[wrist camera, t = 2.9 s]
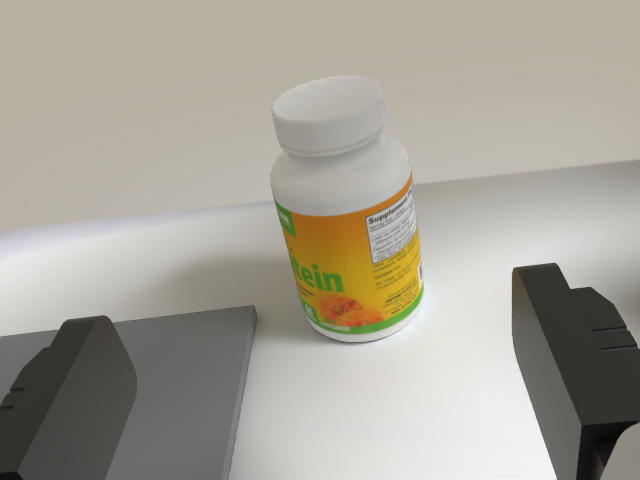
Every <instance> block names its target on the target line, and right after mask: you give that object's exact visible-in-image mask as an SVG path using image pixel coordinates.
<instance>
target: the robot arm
mask: <svg viewBox="0 0 640 480" xmlns="http://www.w3.org/2000/svg"><path fill="white" fill-rule="evenodd" d="M512 336H513V344H514V349H515V354H516V358H517V362H518V365H519V368H520V371H521V373H522V376H523V379H524V382H525V385H526V388H527V391H528V394H529V397H530V400H531V403H532V406H533V409H534V412H535V415H536V418H537V421H538V424H539V427H540V430H541V433H542V436H543V439H544V442H545V444H546V447H547V450H548V453H549V456H550V459H551V462H552V465H553V468H554V471H555V474H556V477H557V480H640V349H638V347H637V343H636V341H635V340H634V338H633V336H632V335H631V333H630V331H627V326H626V324H625V323H624V321H623V319H622V318H621V316H620V314H619V313H618V311H617V309H616V307H615V306H614V304H613V303H611V302H610V301H609V300H607V299H606V298H605V297H603V296H602V295H601V294H599V293H598V292H597V291H595V290H594V289H593V288H591V287H585V288H576V289H570V287H569V286H568V284H567V282H566V280H565V278H564V276H563V274H562V272H561V270H560V268H559V266H558V265H557V264H556V263H549V264H541V265H532V266H524V267H515V268H514V269H513V272H512ZM136 394H137V375H136V371H135V368H134V365H133V363H132V361H131V359H130V357H129V355H128V353H127V351H126V349H125V347H124V345H123V343H122V341H121V339H120V337H119V335H118V333H117V331H116V329H115V327H114V325H113V323H112V321H111V320H110V319H109V318H108V317H107V316H103V315H102V316H94V317H86V318H77V319H70V320H67V321H65V322H64V323H63V324H62V326H61V328H60V329H59V331H58V333H57V334H56V336H55V338H54V339H53V341H52V343H51V345H50V346H49V347H44V348H43V349H42V350H41V351H40V352H39V353H38V354H37V355H36V356H35V357H34V358H32V359H31V360H30V361H29V362H28V363H27V364H26V365H25V366H24V367H23V368H22V370H21V372H20V373H19V375H18V376H17V378H16V380H15V381H14V383H13V385H12V386H11V388H10V393H8V394H6V396H5V398H4V399H3V401H2V403H1V404H0V480H105V478H106V475H107V473H108V470H109V467H110V465H111V462H112V459H113V457H114V454H115V452H116V449H117V446H118V444H119V441H120V438H121V436H122V433H123V430H124V428H125V425H126V422H127V420H128V417H129V414H130V412H131V409H132V406H133V404H134V401H135V398H136Z"/></svg>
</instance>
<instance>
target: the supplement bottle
mask: <svg viewBox="0 0 640 480" xmlns="http://www.w3.org/2000/svg"><path fill="white" fill-rule="evenodd" d="M272 116H273V121H274V126H275V130H276V135H277V138H278V140H279V144H280V146H281V148H282V149H284V151H283V152H282V153H281V154H280V155H279V157H278V158H277V159H276V161H275V163H274V165H273V168H272V171H271V187H272V192H273V196H274V200H275V204H276V208H277V211H278V215H279V219H280V222H281V226H282V229H283V233H284V237H285V241H286V245H287V249H288V252H289V256H290V260H291V264H292V268H293V272H294V276H295V279H296V283H297V287H298V291H299V295H300V299H301V303H302V307H303V310H304V313H305V315H306V318H307V319H308V321H309V323H310V324H311V325H312V326H313V327H314V328H315V329H316V330H317V331H318V332H320V333H322V334H323V335H325V336H327V337H330V338H333V339H336V340H340V341H346V342H366V341H373V340H378V339H381V338H385V337H387V336H390V335H392V334H394V333H396V332H398V331H399V330H401V329H402V328H404V327H405V326H406V325H407V324H409V323H410V322H411V321H412V320H413V319H414V317H415V316H416V315H417V313H418V312H419V310H420V308H421V305H422V302H423V297H424V287H423V274H422V265H421V256H420V247H419V238H418V229H417V219H416V212H415V203H414V193H413V183H412V174H411V167H410V161H409V156H408V153H407V150H406V148H405V147H404V145H403V144H402V143H401V142H400V141H399V140H398V139H397V138H396V137H395V136H393V135H392V134H390V133H388V132H386V131H384V130H383V129H384V128H385V119H386V113H385V109H384V102H383V96H382V90H381V87H380V85H379V84H378V83H377V82H376V81H374V80H372V79H370V78H366V77H362V76H352V75H348V76H347V75H346V76H334V77H326V78H322V79H317V80H313V81H310V82H307V83H304V84H301V85H298V86H296V87H294V88H291V89H289V90H288V91H286V92H284V93H283V94H281V95H280V96H279V97H278V98H277V99H276V100H275V101H274V103H273V104H272Z"/></svg>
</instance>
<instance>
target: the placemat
mask: <svg viewBox="0 0 640 480" xmlns="http://www.w3.org/2000/svg"><path fill="white" fill-rule="evenodd" d="M256 318H257V313H256V310H255V307H254V305H252V306H244V307H236V308H228V309H220V310H212V311H204V312H196V313H188V314H180V315H172V316H164V317H156V318H148V319H139V320H131V321H123V322H115V323H113V325H114V327H115V329H116V331H117V333H118V335H119V337H120V339H121V341H122V343H123V345H124V347H125V349H126V351H127V353H128V355H129V357H130V359H131V361H132V363H133V365H134V368H135V371H136V375H137V394H136V398H135V401H134V404H133V406H132V409H131V412H130V414H129V417H128V420H127V422H126V425H125V428H124V430H123V433H122V436H121V438H120V441H119V444H118V446H117V449H116V452H115V454H114V457H113V459H112V462H111V465H110V467H109V470H108V473H107V475H106V478H105V480H228V477H229V471H230V465H231V460H232V454H233V448H234V443H235V437H236V431H237V426H238V420H239V414H240V409H241V403H242V397H243V392H244V386H245V381H246V375H247V369H248V364H249V358H250V352H251V347H252V341H253V335H254V330H255V324H256ZM58 331H59V330H51V331H43V332H35V333H26V334H18V335H10V336H2V337H0V404H1V403H2V401H3V399H4V398H5V396H6V394H8V393H10V388H11V386H12V385H13V383H14V381H15V380H16V378H17V376H18V375H19V373H20V372H21V370H22V368H23V367H24V366H25V365H26V364H27V363H28V362H29V361H30V360H31V359H32V358H34V357H35V356H36V355H37V354H38V353H39V352H40V351H41V350H42V349H43V348H44V347H49V346H50V345H51V343H52V341H53V339H54V338H55V336H56V334H57V333H58Z"/></svg>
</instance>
